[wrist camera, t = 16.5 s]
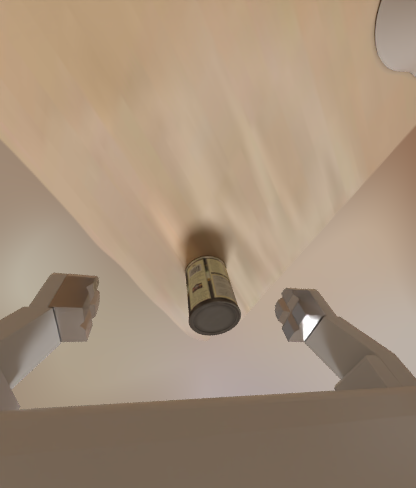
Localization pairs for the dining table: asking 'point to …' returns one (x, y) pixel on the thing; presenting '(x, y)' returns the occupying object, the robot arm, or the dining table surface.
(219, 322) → the coffee can
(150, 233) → the dining table surface
